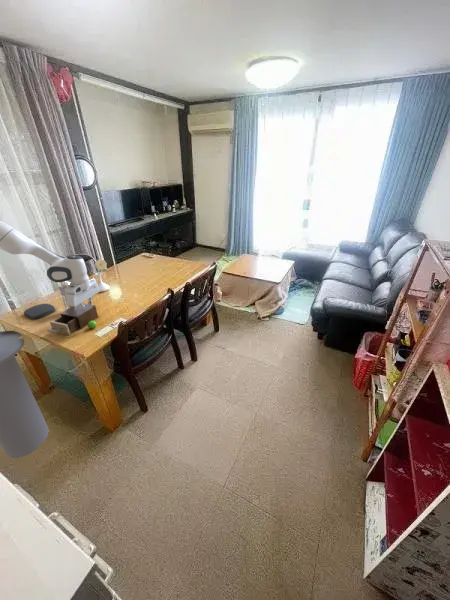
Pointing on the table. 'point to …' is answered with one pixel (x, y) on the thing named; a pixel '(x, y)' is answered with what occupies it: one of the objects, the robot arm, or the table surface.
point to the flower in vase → (101, 266)
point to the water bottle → (63, 294)
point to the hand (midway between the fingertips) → (87, 306)
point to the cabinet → (82, 314)
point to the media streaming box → (39, 311)
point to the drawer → (64, 325)
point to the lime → (92, 324)
